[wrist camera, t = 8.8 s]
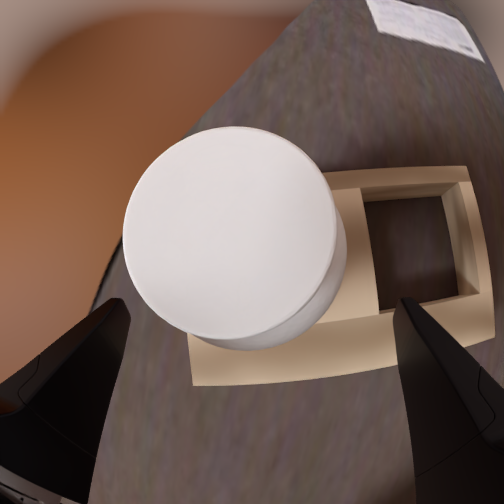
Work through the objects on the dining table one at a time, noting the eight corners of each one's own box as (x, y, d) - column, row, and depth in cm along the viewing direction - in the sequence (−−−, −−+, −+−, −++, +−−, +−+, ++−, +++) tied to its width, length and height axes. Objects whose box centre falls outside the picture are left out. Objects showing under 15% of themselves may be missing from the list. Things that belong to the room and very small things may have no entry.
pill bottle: (207, 225, 18) (103, 127, 7) (312, 211, 17) (339, 83, 6) (216, 332, 17) (103, 373, 6) (327, 321, 16) (393, 355, 5)
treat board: (473, 334, 17) (497, 337, 14) (206, 374, 19) (191, 387, 16) (448, 180, 19) (468, 164, 16) (193, 206, 22) (177, 190, 18)
